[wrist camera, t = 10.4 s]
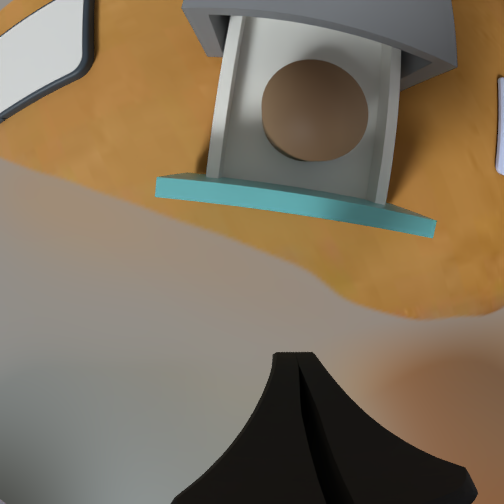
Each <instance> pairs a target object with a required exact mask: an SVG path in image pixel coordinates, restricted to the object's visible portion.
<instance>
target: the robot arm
mask: <svg viewBox="0 0 504 504" xmlns="http://www.w3.org/2000/svg"><path fill="white" fill-rule="evenodd" d="M498 93H499V123H498V144H497V156H496V170H497V172H498V173H500V174H502V175H504V78H503V77H501V78H499V79H498ZM477 494H478V492H477V489H476V487H475V485H474V483H473V481H472V479H471V477H470V475H469V473H468V471H467V470H466V468H465V467H462V466H459V465H456V464H453V463H451V462H448V461H445V460H442V459H439V458H437V457H435V456H432V455H430V454H428V453H426V452H424V451H422V450H420V449H418V448H416V447H414V446H412V445H410V444H409V443H407V442H405V441H404V440H402V439H400V438H399V437H397V436H396V435H394V434H393V433H391V432H390V431H388V430H387V429H385V428H384V427H382V426H381V425H380V424H379V423H377V422H376V421H375V420H374V419H372V418H371V417H370V416H369V415H368V414H366V413H365V412H364V411H363V410H362V409H361V408H360V407H359V406H358V405H357V404H356V403H355V402H354V401H353V400H352V399H351V398H350V397H349V396H348V395H347V394H346V393H345V392H344V390H343V389H342V388H341V387H340V386H339V385H338V384H337V382H336V381H335V380H334V379H333V378H332V376H331V375H330V374H329V373H328V371H327V370H326V369H325V367H324V366H323V365H322V363H321V362H320V361H319V359H318V358H317V357H316V355H315V354H314V353H313V352H276V353H275V354H273V359H272V369H271V373H270V376H269V379H268V381H267V384H266V387H265V389H264V391H263V394H262V396H261V398H260V400H259V402H258V404H257V406H256V408H255V410H254V412H253V413H252V415H251V417H250V418H249V420H248V422H247V423H246V425H245V426H244V428H243V429H242V431H241V432H240V433H239V435H238V436H237V438H236V439H235V440H234V441H233V443H232V444H231V445H230V446H229V448H228V449H227V450H226V451H225V452H224V453H223V455H222V456H221V457H220V458H219V459H218V460H217V461H216V462H215V463H214V464H213V465H212V466H211V467H210V468H209V469H208V470H207V471H206V472H205V473H204V474H203V475H202V476H201V477H200V478H198V479H197V480H196V481H195V482H193V483H192V484H191V485H190V486H189V487H187V488H186V489H185V490H184V491H182V492H181V493H180V494H179V495H177V496H176V497H175V498H174V500H173V501H172V503H171V504H471V503H472V502H473V501H474V500H475V498H476V497H477ZM0 504H6V503H5V502H3V501H2V500H0Z"/></svg>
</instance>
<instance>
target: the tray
mask: <svg viewBox="0 0 504 504" xmlns="http://www.w3.org/2000/svg"><path fill="white" fill-rule="evenodd" d="M307 59H315V60H322V61H326V62H329V63H332V64H335V65H337V66H338V67H340V68H342V69H343V70H345V71H346V72H348V73H349V74H350V75H351V76H352V77H353V78H354V79H355V80H356V81H357V83H358V84H359V86H360V87H361V89H362V91H363V93H364V95H365V98H366V101H367V105H368V123H367V128H366V131H365V133H364V135H363V137H362V139H361V140H360V142H359V143H358V144H357V146H356V147H355V148H354V149H352V150H351V151H350V152H349V153H347V154H345V155H344V156H342V157H339V158H337V159H333V160H329V161H310V162H304V161H297V160H293V159H291V158H288V157H286V156H284V155H283V154H281V153H280V152H278V151H277V150H276V149H275V148H274V147H273V146H272V145H271V143H270V142H269V140H268V139H267V137H266V135H265V132H264V129H263V125H262V109H261V105H262V96H263V92H264V90H265V87H266V85H267V83H268V81H269V80H270V79H271V77H272V76H273V75H274V74H275V73H276V72H277V71H278V70H280V69H281V68H282V67H284V66H286V65H288V64H290V63H293V62H295V61H300V60H307ZM400 74H401V50H400V49H397V48H394V47H391V46H389V45H386V44H383V43H379V42H376V41H373V40H370V39H367V38H363V37H360V36H356V35H352V34H349V33H345V32H341V31H336V30H332V29H328V28H323V27H318V26H313V25H308V24H303V23H297V22H290V21H284V20H276V19H268V18H259V17H247V16H232V15H231V17H230V22H229V27H228V32H227V38H226V43H225V49H224V54H223V60H222V66H221V72H220V78H219V84H218V90H217V97H216V103H215V110H214V117H213V124H212V131H211V139H210V147H209V154H208V163H207V171H206V174H196V173H181V174H174V175H167V176H161V177H157V181H156V193H155V197H161V198H171V199H181V200H190V201H199V202H207V203H216V204H224V205H232V206H240V207H248V208H255V209H263V210H270V211H277V212H284V213H291V214H298V215H304V216H311V217H317V218H324V219H330V220H336V221H342V222H348V223H354V224H360V225H366V226H371V227H377V228H382V229H388V230H393V231H398V232H404V233H409V234H414V235H419V236H424V237H429V238H433V235H434V231H435V227H436V222H437V221H436V220H433V219H431V218H428V217H425V216H423V215H420V214H418V213H415V212H412V211H410V210H407V209H404V208H401V207H399V206H396V205H393V204H390V203H386V198H387V193H388V187H389V181H390V174H391V168H392V161H393V154H394V146H395V137H396V128H397V118H398V107H399V93H400Z"/></svg>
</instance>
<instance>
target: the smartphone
mask: <svg viewBox="0 0 504 504" xmlns="http://www.w3.org/2000/svg"><path fill="white" fill-rule="evenodd" d="M94 3H95V0H53V1H51V2H49V3H48V4H46V5H44V6H43V7H41V8H40V9H38V10H36V11H35V12H33V13H32V14H30V15H29V16H27V17H26V18H24V19H23V20H21V21H20V22H18V23H17V24H16V25H14V26H13V27H12V28H10V29H9V30H7V31H6V32H5V33H4V34H2V35H1V36H0V123H2V122H3V121H5V120H6V119H7V118H9V117H11V116H12V115H14V114H15V113H17V112H19V111H20V110H22V109H23V108H25V107H27V106H28V105H30V104H32V103H34V102H35V101H37V100H39V99H41V98H42V97H44V96H46V95H48V94H50V93H52V92H54V91H56V90H58V89H59V88H61V87H63V86H65V85H68V84H70V83H72V82H74V81H76V80H78V79H80V78H82V77H83V76H84V75H86V74H87V73H88V71H89V70H90V68H91V67H92V64H93V61H94Z"/></svg>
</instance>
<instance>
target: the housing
mask: <svg viewBox="0 0 504 504" xmlns="http://www.w3.org/2000/svg"><path fill="white" fill-rule="evenodd" d="M182 10H183V12H184V14H185V15H186V17H187V19H188V21H189V23H190V25H191V26H192V28H193V30H194V32H195V34H196V36H197V38H198V40H199V41H200V43H201V45H202V47H203V49H204V51H205V53H206V55H207V56H208V57H223V54H224V49H225V43H226V38H227V32H228V27H229V22H230V17H231V15H232V16H247V17H259V18H268V19H276V20H284V21H290V22H297V23H303V24H308V25H313V26H318V27H323V28H328V29H332V30H336V31H341V32H345V33H349V34H352V35H356V36H360V37H363V38H367V39H370V40H373V41H376V42H379V43H383V44H386V45H389V46H391V47H394V48H397V49H400V50H401V74H400V91H403V90H405V89H407V88H409V87H411V86H414V85H416V84H418V83H421V82H423V81H425V80H428V79H430V78H432V77H435V76H437V75H439V74H442V73H444V72H447V71H449V70H452V69H454V68H457V48H456V35H455V25H454V17H453V9H452V3H451V0H183V4H182Z"/></svg>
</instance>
